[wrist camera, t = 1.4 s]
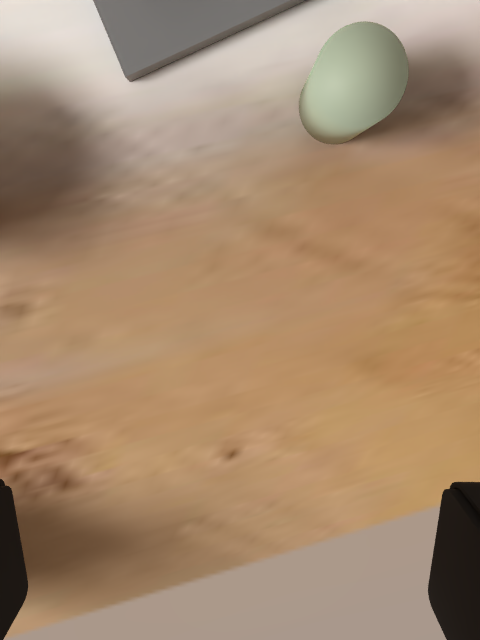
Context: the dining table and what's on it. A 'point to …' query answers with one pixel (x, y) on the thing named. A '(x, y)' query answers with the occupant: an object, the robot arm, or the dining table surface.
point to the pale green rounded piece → (353, 82)
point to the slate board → (175, 27)
